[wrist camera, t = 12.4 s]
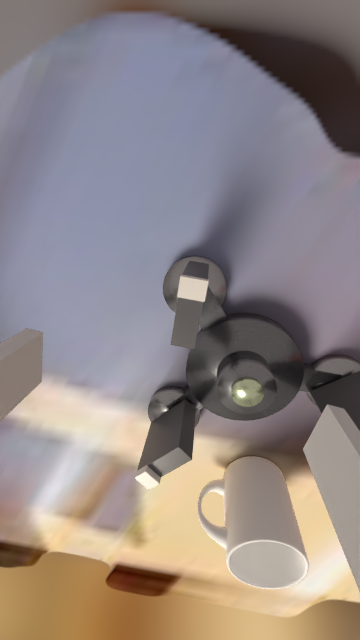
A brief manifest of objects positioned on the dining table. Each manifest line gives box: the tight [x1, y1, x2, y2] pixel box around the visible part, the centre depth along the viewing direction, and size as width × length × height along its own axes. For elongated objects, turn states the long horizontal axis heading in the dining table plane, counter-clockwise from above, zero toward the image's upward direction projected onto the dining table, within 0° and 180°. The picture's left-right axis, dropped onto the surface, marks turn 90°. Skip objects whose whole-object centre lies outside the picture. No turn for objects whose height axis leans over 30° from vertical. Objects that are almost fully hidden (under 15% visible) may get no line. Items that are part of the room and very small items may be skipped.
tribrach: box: [148, 256, 360, 428], centre depth 29 cm, size 25×24×6 cm
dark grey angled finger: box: [309, 371, 360, 431], centre depth 26 cm, size 6×2×8 cm, turn 123°
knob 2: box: [171, 261, 209, 349], centre depth 24 cm, size 6×2×8 cm, turn 171°
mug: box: [198, 456, 309, 589], centre depth 33 cm, size 9×12×11 cm
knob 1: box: [135, 399, 196, 490], centre depth 30 cm, size 6×2×8 cm, turn 132°
